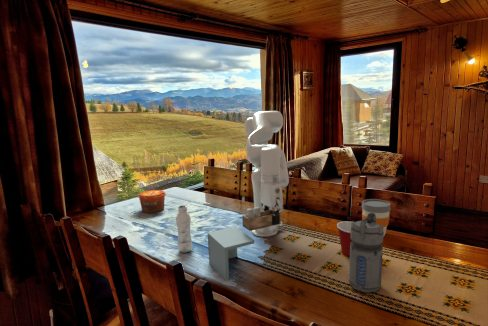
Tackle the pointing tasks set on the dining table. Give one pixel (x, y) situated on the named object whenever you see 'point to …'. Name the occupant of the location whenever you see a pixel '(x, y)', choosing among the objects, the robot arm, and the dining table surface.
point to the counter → (225, 248)
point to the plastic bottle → (183, 230)
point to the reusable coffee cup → (377, 211)
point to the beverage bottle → (366, 254)
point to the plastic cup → (345, 236)
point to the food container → (152, 201)
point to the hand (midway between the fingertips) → (271, 221)
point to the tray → (257, 219)
